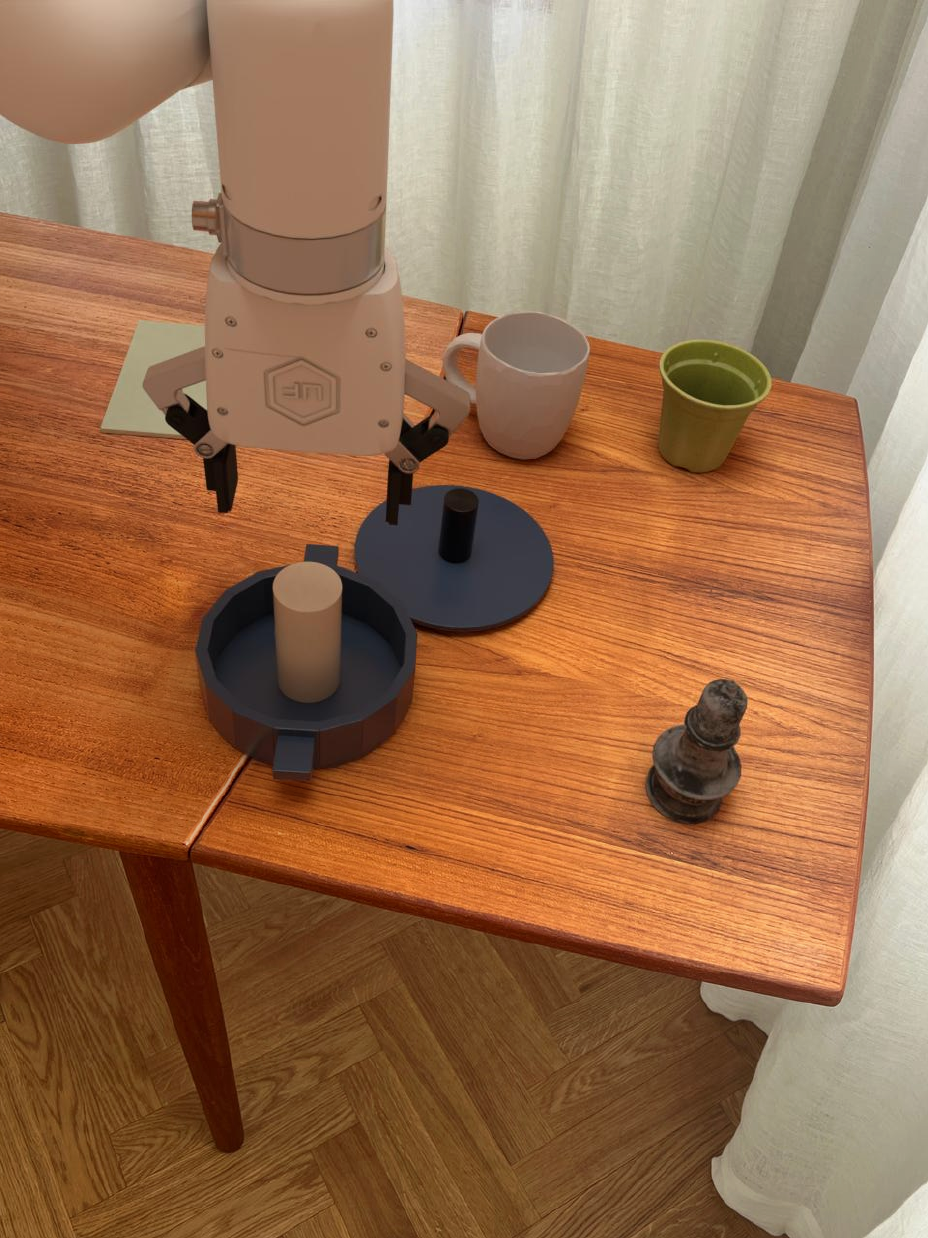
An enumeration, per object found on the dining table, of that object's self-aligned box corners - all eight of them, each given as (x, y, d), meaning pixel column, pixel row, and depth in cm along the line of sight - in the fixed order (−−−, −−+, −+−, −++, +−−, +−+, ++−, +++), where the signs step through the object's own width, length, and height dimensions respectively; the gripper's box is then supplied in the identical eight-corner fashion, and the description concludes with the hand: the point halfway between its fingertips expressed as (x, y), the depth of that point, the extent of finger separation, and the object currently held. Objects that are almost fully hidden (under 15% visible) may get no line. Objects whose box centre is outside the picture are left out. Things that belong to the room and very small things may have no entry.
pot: (177, 797, 71) (170, 758, 68) (225, 572, 84) (221, 529, 81) (405, 811, 72) (410, 773, 69) (417, 586, 85) (421, 545, 82)
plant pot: (673, 496, 95) (698, 416, 89) (619, 429, 101) (640, 348, 94) (762, 474, 98) (793, 394, 92) (705, 410, 104) (731, 331, 97)
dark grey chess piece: (711, 750, 78) (762, 640, 69) (738, 823, 74) (796, 716, 65) (630, 758, 77) (672, 646, 68) (654, 832, 73) (701, 725, 64)
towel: (100, 432, 93) (99, 428, 93) (139, 323, 104) (139, 319, 104) (339, 452, 95) (339, 447, 94) (353, 342, 105) (353, 338, 105)
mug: (586, 429, 100) (608, 335, 93) (542, 484, 95) (560, 388, 87) (464, 378, 103) (475, 282, 96) (414, 427, 98) (422, 330, 90)
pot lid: (346, 629, 82) (347, 567, 77) (361, 487, 92) (363, 424, 87) (555, 644, 83) (570, 583, 78) (547, 502, 93) (560, 440, 88)
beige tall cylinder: (273, 701, 76) (268, 609, 69) (281, 652, 79) (277, 558, 72) (337, 705, 76) (339, 614, 69) (342, 656, 79) (345, 563, 72)
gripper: (101, 261, 49) (149, 537, 62) (488, 293, 51) (456, 558, 63) (136, 180, 55) (173, 450, 67) (487, 210, 56) (458, 472, 68)
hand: (311, 502), depth 65 cm, fingers open, 9 cm apart
